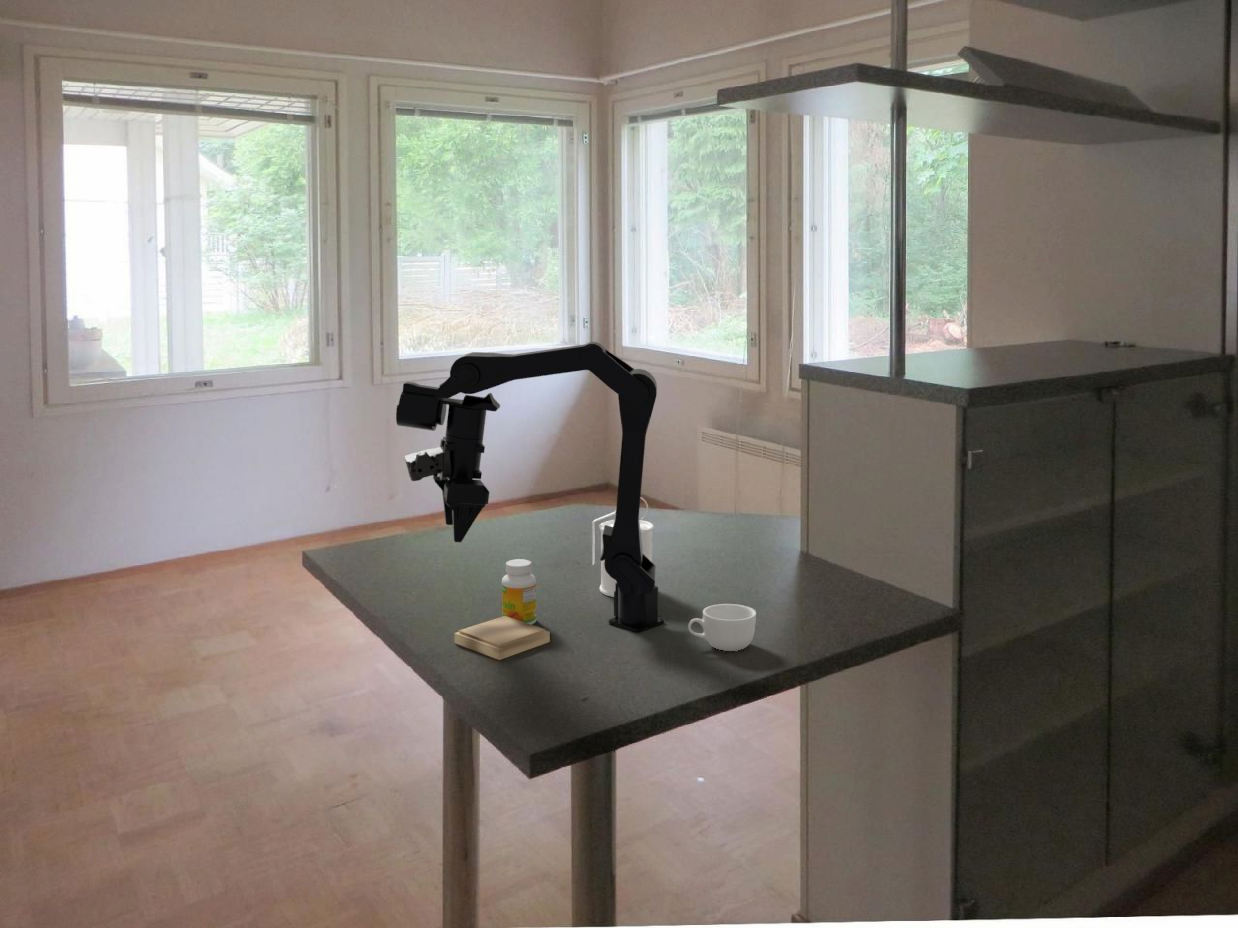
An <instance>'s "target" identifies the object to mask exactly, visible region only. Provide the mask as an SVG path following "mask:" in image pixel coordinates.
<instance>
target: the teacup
mask: <svg viewBox="0 0 1238 928" xmlns="http://www.w3.org/2000/svg"><path fill="white" fill-rule="evenodd" d="M756 618H757V611H756V610H755V609H754V608H752V607H750V606H746V605H743V604H735V603H734V604H733V603H719V604H713V605H709V606H706V607H705V608H703V610H702V618H697V617H695V618H692V619H691V620H689V622H688V625H687V629H688V632H689V633H690V634H691V635H693V636H695V637H697V638H702V639H704V640H706V642H707V643H709V646H711V647H712V648H714V649H715V648H716V649H715V650H717V649H719V650H718V651H720V650H724V651H723V652H725V651H735V652H739V651H738V650H740V651H742V650H743V649H745V648H747V647H748V646H749V645H750V644H751V643H752V641H753V640H754V639H753V638H754V635H755V629H756ZM696 622H697V623H698V624H699V625H700V626H701V627H702V629H703V632H702V633H700V632H695V631H694V630H692V624H694V623H696ZM741 649H742V650H741Z"/></svg>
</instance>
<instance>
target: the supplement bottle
mask: <svg viewBox="0 0 1238 928" xmlns="http://www.w3.org/2000/svg"><path fill="white" fill-rule="evenodd" d="M532 569H533V568H532V561H530V560H528V559H523V558H518V559H516V558H515V559H510V560H508V561H506V562H505V572H506V574H505V575H504V576H503V577H502V579H501V608H502V609H501V611H502V613H501V617H502V616H507V617H510V618H513V619H516V620H519V621H522V622H525V623H528V624H531V625H534V624H535V623H536V622H537V619H538V618H537V615H538V614H537V610H538V609H537V580H536V577H535V576H534V574H533V573H531V572H532Z"/></svg>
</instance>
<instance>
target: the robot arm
mask: <svg viewBox="0 0 1238 928" xmlns="http://www.w3.org/2000/svg"><path fill="white" fill-rule="evenodd" d="M581 371H589V372H590V373H592V374H593V375H594V376H595V377H597V378H598V379H599V380H600V381H601V382H602V383H603V384H605V385H606V386H607V387H608V388H609V389H611V390H612V391H613V392H614V393H615V394H617V397H618V407H619V416H620V424H621V425H620V426H621V433H622V435H621V448H620V458H619V459H620V460H619V469H618V470H619V473H618V483H617V484H618V486H617V494H616V495H617V496H616V505H615V506H616V507H615V511H616V514H615V519H614V520H615V521H614V525H613V527H611V526H607V525H605V526H604V531H603V535H602V536H603V549H602V553H601V552H600V559H599V560H600V562H601V561H603V560H605V562H604V565H605V570H606V572H607V573H608V574H609V575H610V577H611V578H613V579H615V580H616V581H617V583H615V591H614V597H613V616H614V617H612V618H609V619H608V624H611V625H614V626H616V627H621V628H624V629H627V630H631V631H632V632H638V633H639V632H643V631H645V630H648V629H650V628H653V627H656V626H658V625H661V624H664V623H665V618H663V617H660V616H659V586H656V585H655V584H656V568H657V567H656V565H655V563H653V561H652V562H651V561H650V560H649V559H648V558H647V557H646V556H645V555H644V554H643V550H642V539H641V530H640V522H639V519H640V509H641V507H640V506H641V499H640V497H642V496H641V494H642V485H643V473H644V472H643V471H644V460H645V459H644V458H645V449H646V448H645V447H646V436H647V432H648V428H649V426H650V425H649V424H650V420H651V418H652V413H653V411H654V406H655V403H656V399H657V394H658V385H657V380H656V379H655V377H654V375H653V374H652V373H650V372H649V371H647V370H646V369H641V368H636V369H635V368H633V367H632V366H631V365H630V364H628V363H627V362H625V361H624V360H622V359H621V358H620V357H618V356H617V355H615V354H614V353H612V352H610V351H609V350H608V349H606V348H605V346H604V345H602V343H600V342H597V341H590V342H586V343H585V344H579V345H571V346H564V347H557V348H550V349H542V350H535V351H530V352H529V351H527V352H521V353H514V354H513V353H498V352H482V351H481V352H480V351H478V352H477V351H476V352H475V351H472V352H469V353H466V354H464V355H462V356H461V357H459V358H457V359H455V360H454V363H452V365H451V367H450V371H449V377H448V378H447V379H446V380H444V381H442V383H440V384H439V386H431V385H423V384H419V383H417V382H412V381H406V382H404V383H403V386H402V391H401V394H400V395H399V396H400V397H399V401H398V404H397V405H396V413H395V419H396V421H395V422H396V425H397V426H399V427H405V428H406V427H407V428H412V429H419V430H427V431H433V432H434V431H436V430H437V427H438V426H443V425H444V423H445V420H446V429H445V435H444V436H442V438H441V439H440V443H439V446H438V447H433V448H428V449H424V450H421V451H416V452H413V453H408V454H406V455H405V456H404V461H405V465H406V468H407V471H408V475H409V478H410V480H411V482H417V481H418V482H419V481H422V479H424V478H428V477H431V476H432V478H433V481H434V483H435V484H436V485H437V486H438V487H439V488H440V490H441V492H442V503H443V512H444V521H445V524H446V526H452V530H453V532H452V533H453V541H454V542H455V543H462V541H463V540H464V538H465V537H466V535H467V534H468V532H469V530H470V529H471V527H472V526H473V524H474V523H475V521H476V519H477V517H478V516H479V514H480V513H481V511H483V508H485V507H486V505H488V504H489V499H490V491H489V488H487V486H486V485H485V484H484V482H483V481H482V480H481V479H482V471H481V469H480V467H481V460H482V459H481V457H482V454H485V450H486V449H485V448H486V447H485V445H484V444H483V443H484V434H485V424H486V417H487V411H489V412H497V411H498V410H499V409H500V408H501V404H500V403H499V402H498V401H497V400H496V399H495V398H494V396H493V393H491V392H490V393H488V394H487V395H486V396H477V395H473V394H478V393H480V392H483V391H486V390H489V389H493V388H495V387H499V386H500V385H504V384H507V383H510V382H512V381H516V380H523V379H529V378H530V379H531V378H537V377H544V376H553V375H561V374H566V373H573V372H581ZM458 394H464V396H463V399H459V398H452V397H454V396H456V395H458ZM447 405H448V410H447ZM447 411H448V412H447ZM446 414H447V419H446Z"/></svg>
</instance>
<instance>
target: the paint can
mask: <svg viewBox="0 0 1238 928" xmlns="http://www.w3.org/2000/svg"><path fill="white" fill-rule="evenodd" d="M640 500H642V501H643V502H644V503H645V507H646V512H645V514H644V516H642V517H641V518H639V522H640V530H641V539H642V550H643V554H644V555H645V556H646V557H647V558H648V559H649V560H650V561H651V562H652V563H653V531H654V529H655V526H654V524H653V523H652V522H650V521H646V520H643V519H645V518H646V517H647V515H648V513H649V505H648V502H647V501H646V499H645V498H643V497H642V496H641V497H640ZM612 516H616V510H614V511H613V512H611V513H608V514H605V515H603V516H600V517H599V518H598V517H597V518H595V519H594V520H593V521H592V522H591V546H592V547H591V554H592V555H591V558H592V559H591V562H592V566H594V564H595V561H596V560H595V556H596V555H595V550H596V549H595V544H596V543H595V524H596V523H597V522H599V521H602V520H604V519H607V518H609V517H612ZM614 521H615V519H610V520H607V521H603V522H602V523H600V524H599V525H598V526H599V527H598V528H599V531H600V554H601V553H602V549H603V536H602V535H603V531H604V526H605V525H607V526H611V527H613V525H614ZM604 562H605V560H603V561H601V560H600V565H601V566H600V580H601V581H600V585H599V591H600V593H601V594H603V595H605V596H607V597H611V598H614V591H615V583H617V581H616V580H615V579H613V578H611V577H610V575H609V574H608V573H607V572H606V570H605V565H604Z"/></svg>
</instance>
